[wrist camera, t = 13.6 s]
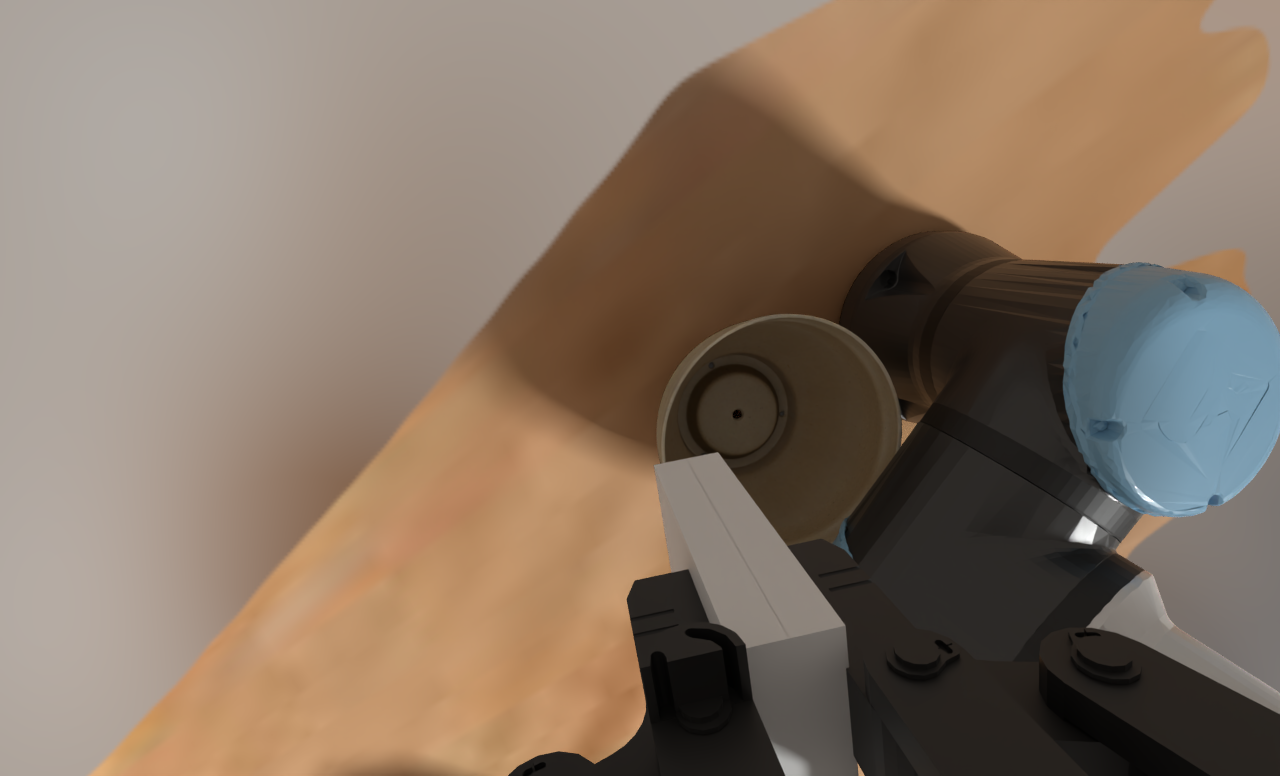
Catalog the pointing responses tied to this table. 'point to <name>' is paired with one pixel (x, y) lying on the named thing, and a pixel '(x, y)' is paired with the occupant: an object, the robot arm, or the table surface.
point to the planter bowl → (786, 418)
